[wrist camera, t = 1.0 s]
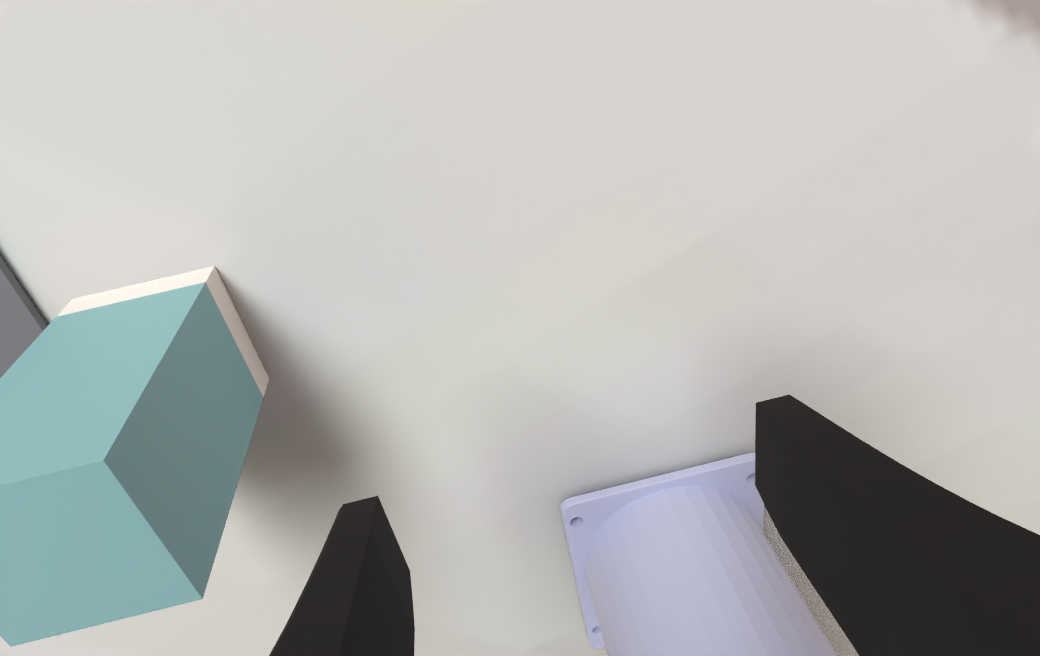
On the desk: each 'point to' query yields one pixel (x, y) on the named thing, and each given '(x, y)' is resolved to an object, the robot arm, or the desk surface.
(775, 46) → the desk surface
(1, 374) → the pad
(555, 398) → the desk surface
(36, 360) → the teal block
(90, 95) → the desk surface
